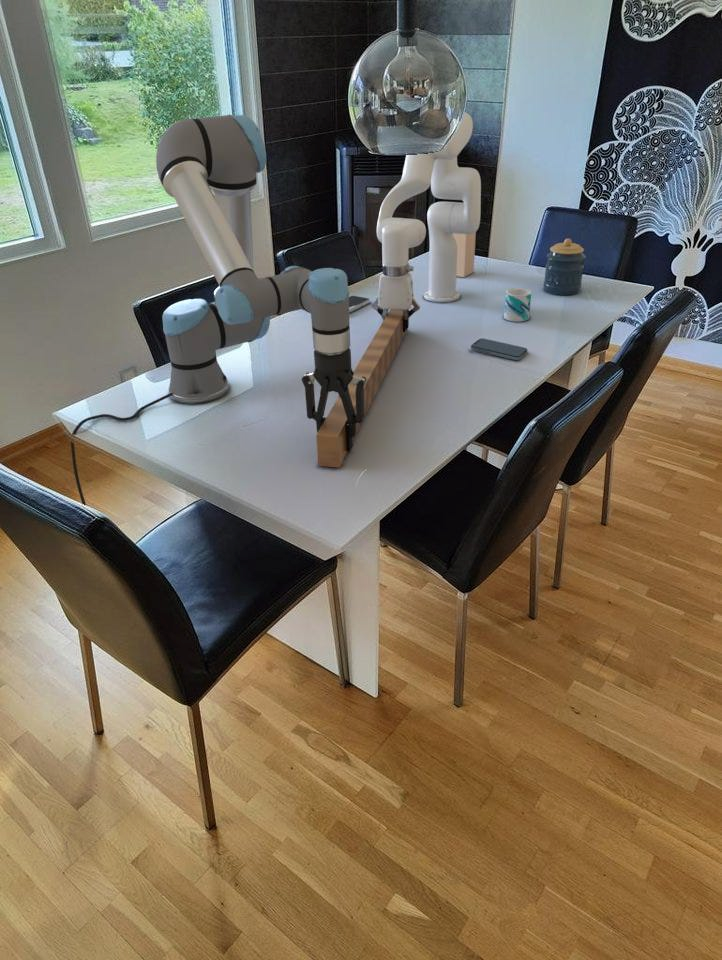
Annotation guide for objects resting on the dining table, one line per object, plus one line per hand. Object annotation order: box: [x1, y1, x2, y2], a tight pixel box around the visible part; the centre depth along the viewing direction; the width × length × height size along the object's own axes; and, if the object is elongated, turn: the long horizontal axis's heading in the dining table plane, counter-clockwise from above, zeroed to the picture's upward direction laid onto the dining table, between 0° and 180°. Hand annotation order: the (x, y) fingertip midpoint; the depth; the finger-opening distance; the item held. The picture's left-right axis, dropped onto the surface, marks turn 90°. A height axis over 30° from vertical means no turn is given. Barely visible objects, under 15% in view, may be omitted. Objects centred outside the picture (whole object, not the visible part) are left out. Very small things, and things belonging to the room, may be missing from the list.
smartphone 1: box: [349, 295, 370, 314], centre depth 231 cm, size 8×1×15 cm
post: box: [315, 309, 408, 469], centre depth 175 cm, size 84×5×8 cm, turn 167°
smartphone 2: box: [470, 337, 528, 361], centre depth 193 cm, size 8×2×15 cm
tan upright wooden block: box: [452, 231, 477, 278], centre depth 256 cm, size 13×9×22 cm
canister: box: [543, 238, 586, 296], centre depth 234 cm, size 13×13×18 cm
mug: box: [503, 287, 532, 323], centre depth 216 cm, size 8×12×8 cm
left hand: (337, 447), depth 149 cm, fingers closed on post, 5 cm apart
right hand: (396, 329), depth 204 cm, fingers closed on post, 4 cm apart
